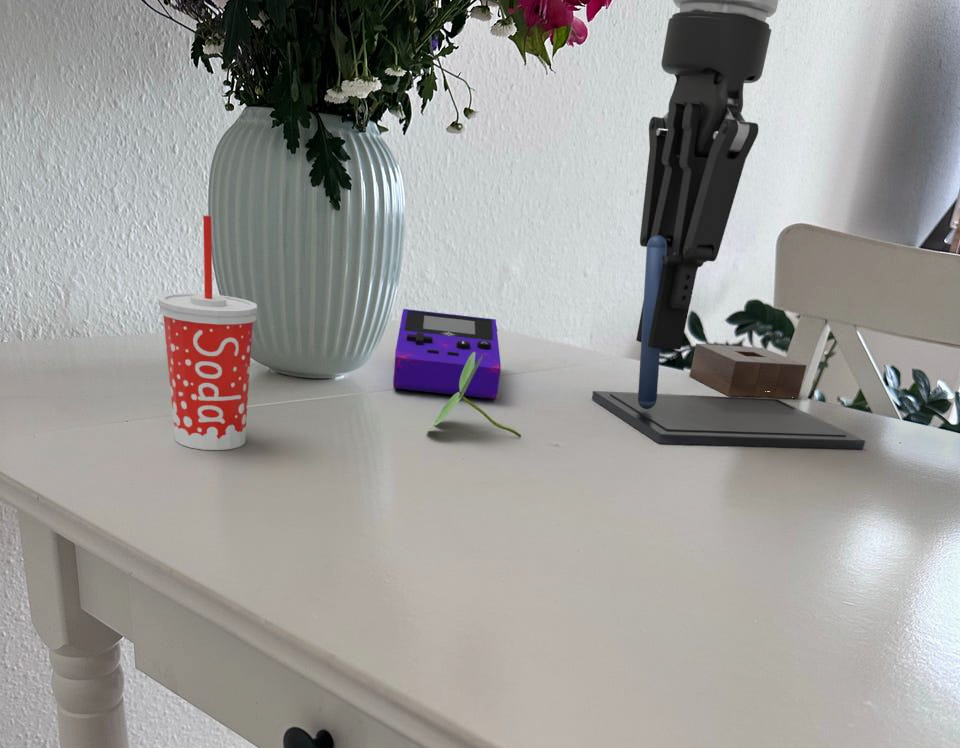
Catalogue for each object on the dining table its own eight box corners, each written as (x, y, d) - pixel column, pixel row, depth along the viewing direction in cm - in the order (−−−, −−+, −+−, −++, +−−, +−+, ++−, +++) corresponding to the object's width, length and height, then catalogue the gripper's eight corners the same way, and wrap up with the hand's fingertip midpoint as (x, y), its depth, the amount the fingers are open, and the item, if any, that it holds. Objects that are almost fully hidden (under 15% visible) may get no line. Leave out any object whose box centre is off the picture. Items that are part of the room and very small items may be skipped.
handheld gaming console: (393, 351, 81) (402, 303, 93) (389, 411, 84) (398, 357, 96) (503, 363, 81) (497, 314, 94) (495, 422, 84) (491, 367, 97)
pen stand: (755, 379, 107) (763, 347, 106) (798, 399, 100) (807, 365, 99) (689, 376, 105) (695, 343, 103) (728, 395, 98) (736, 361, 96)
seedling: (474, 495, 76) (407, 445, 74) (516, 421, 79) (453, 371, 77) (518, 465, 70) (446, 409, 68) (561, 385, 73) (493, 330, 71)
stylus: (651, 405, 85) (662, 233, 78) (659, 410, 83) (671, 236, 76) (634, 407, 84) (644, 234, 77) (642, 412, 83) (652, 237, 76)
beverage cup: (152, 448, 62) (141, 213, 56) (175, 423, 68) (169, 206, 61) (247, 457, 63) (248, 225, 56) (263, 432, 68) (266, 218, 62)
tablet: (775, 407, 96) (777, 398, 95) (863, 449, 84) (866, 439, 83) (591, 399, 89) (592, 389, 89) (658, 443, 78) (660, 433, 77)
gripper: (633, 15, 75) (584, 325, 86) (727, -2, 63) (656, 362, 74) (716, 30, 78) (659, 330, 88) (823, 17, 66) (741, 367, 76)
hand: (658, 344), depth 81 cm, fingers closed on stylus, 1 cm apart
